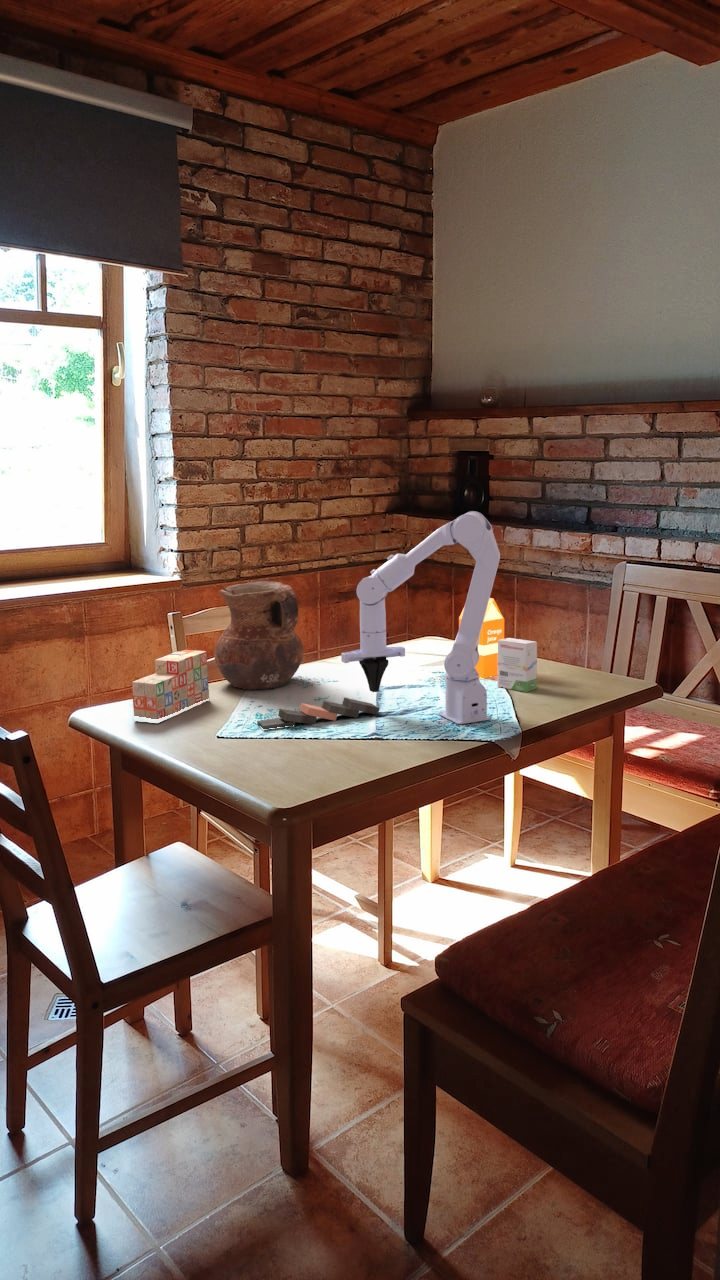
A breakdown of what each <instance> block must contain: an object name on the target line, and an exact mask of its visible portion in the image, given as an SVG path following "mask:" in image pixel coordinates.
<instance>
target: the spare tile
mask: <svg viewBox="0 0 720 1280" xmlns="http://www.w3.org/2000/svg"><path fill="white" fill-rule="evenodd" d="M298 711H302V712H303V713H305V714H307V715H310V716H315V717H317V718H320V719H324V720H330V721H335V722H336V721H337V717H338V714H336V713H331V712H328V711H327V710H325V709H323V708H322V706H317V705H312V704H309V703H304V702H301V703H300V705H299V710H298Z"/></svg>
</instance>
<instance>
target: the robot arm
mask: <svg viewBox="0 0 720 1280" xmlns="http://www.w3.org/2000/svg"><path fill="white" fill-rule="evenodd" d="M457 543H458V544H460V545H461V546H462V547H464V548H466V549H467V551H468V552H469V554H470V555H471V557H472V558H473V559H474V560H475V565H474V569H473V572H472V576H471V580H470V585H469V588H468V592H467V596H466V600H465V603H464V606H465V607H463V608H464V611H463V615H462V619H461V622H460V626H459V625H458V631H457V635H456V637H455V640H454V641H453V645H452V649H451V651H450V652H449V653H448V654H447V655H446V656H445V660H444V662H443V665H444V670H445V672H446V673H445V676H444V677H445V685H444V686H445V710H442V711H438V712H437V715H440V716H441V717H443V718H445V719H447V720H448V721H450V722H452V723H454V724H457V725H462V724H470V723H478V722H483V721H485V722H486V721H490V720H491V717H490V716H488V715H487V714H488V712H487V709H488V706H487V705H488V702H487V701H488V698H487V697H488V694H487V693H488V692H487V689H486V687H485V686H484V685H483V684H482V683H481V681H480V678H479V673H478V672H477V670H476V669H475V668H474V667H475V666H476V665H477V664H478V662H479V652H478V644H479V639H480V632H481V629H482V625H483V621H484V617H485V614H486V610H487V606H488V602H489V598H491V594H492V591H493V586H494V582H495V578H496V576H497V575H496V574H497V571H498V567H499V564H500V559H501V553H500V549H499V546H498V543H497V540H496V537H495V534H494V531H493V525H492V524H491V523H490V522H489V520H488V519H487V518H486V517H485V516H484V514H482V513H481V512H478V511H474V510H471V511H470V510H469V511H468V512H466V513H464V514H461V515H459V516H458V517H456V519H454V520H452V521H450V522H448V523H446V524H444V525H442V526H440V527H439V528H437V529H436V530H435V531H433V532H432V533H431V534H430V535H429V536H427V537H426V538H425V539H424V540H422V541H421V542H420V543H419V544H418V545H417V544H416V546H414V548H412V549H411V550H409V552H407V553H406V554H405V553H396V554H395V555H394V554H390V555H389V556H388V557H387V558H386V559H387V561H386V562H384V563H383V564H382V565H381V566H379V567H377V569H375V568H373V569H372V570H371V571H370V574H371V575H369V576H366V577H363V578H361V580H360V581H359V583H358V584H357V587H356V596H357V598H358V599H359V632H360V633H359V638H360V639H359V644H360V645H359V646H360V649H356V650H352V651H346V652H341V653H340V654H341V656H340V657H341V662H342V663H344V664H348V663H350V662H359V665H360V666H361V668H362V670H363V673H364V674H365V677H366V679H367V684H368V689H369V691H370V692H372V693H378V692H379V691H380V686H381V683H382V680H383V676H384V673H385V671H386V669H387V668H388V666H389V660H388V659H387V658H395V657H403V658H404V657H405V656H406V648H405V647H404V646H401V645H399V646H387V618H386V617H387V612H386V611H387V610H386V597H387V595H388V593H390V592H393V591H395V589H397V588H398V587H399V586H400V585H402V584H403V583H405V582H406V581H407V580H409V579H410V578H411V577H413V576H414V574H415V569H416V566H417V565H418V564H419V563H421V562H422V561H424V560H425V559H427V558H428V557H430V556H431V555H432V554H434V553H435V552H436V551H437V550H440V548H441V547H443V546H450V545H451V546H452V545H455V544H457Z"/></svg>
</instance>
